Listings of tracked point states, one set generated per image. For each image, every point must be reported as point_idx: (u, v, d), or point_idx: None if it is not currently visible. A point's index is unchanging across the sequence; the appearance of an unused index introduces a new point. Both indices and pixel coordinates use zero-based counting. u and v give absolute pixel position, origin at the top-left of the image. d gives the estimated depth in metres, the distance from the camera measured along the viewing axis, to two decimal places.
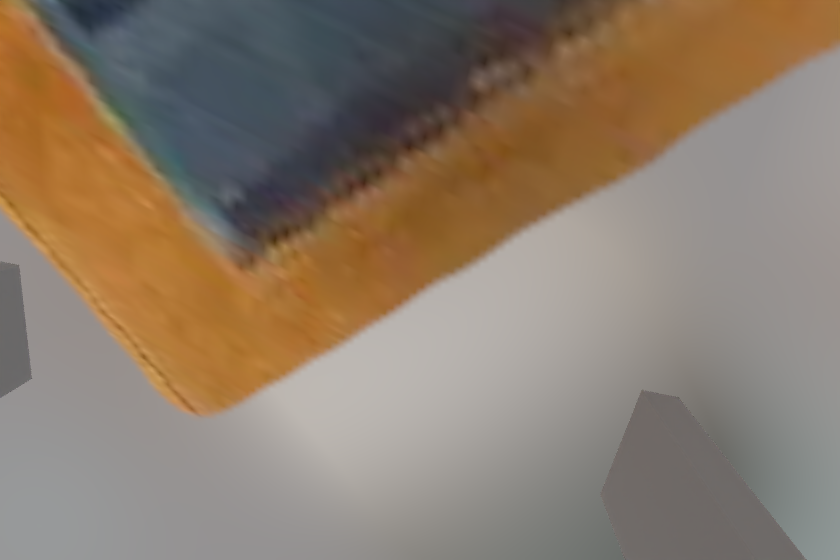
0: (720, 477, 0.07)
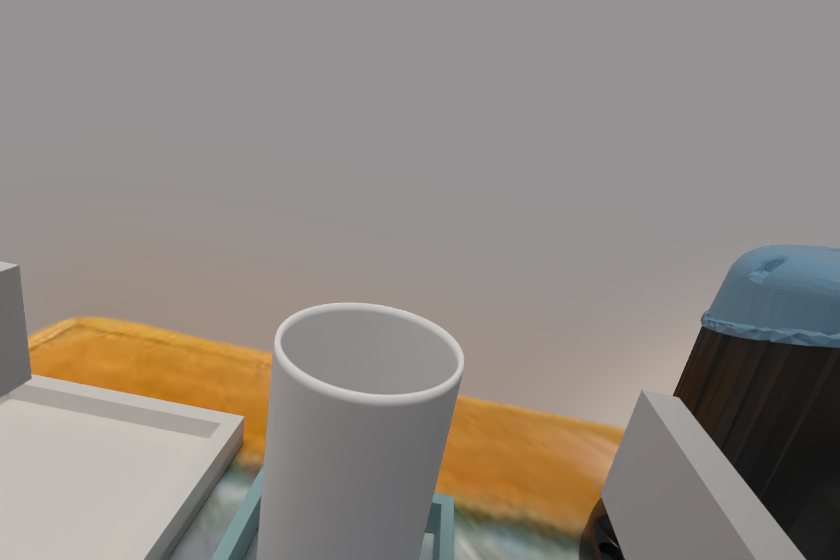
0: (720, 477, 0.07)
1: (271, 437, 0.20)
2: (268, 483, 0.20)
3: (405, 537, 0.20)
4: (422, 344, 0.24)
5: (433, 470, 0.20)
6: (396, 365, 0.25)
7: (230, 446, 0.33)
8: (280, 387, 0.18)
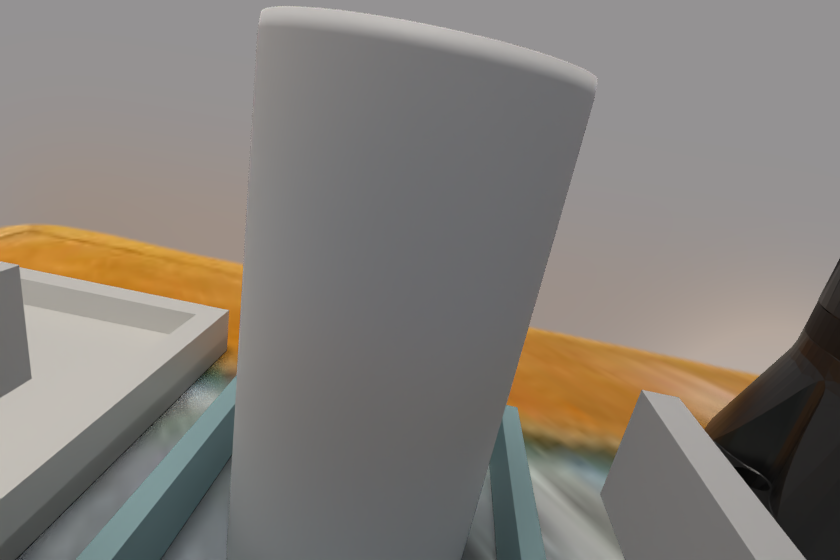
0: (720, 477, 0.07)
1: (253, 199, 0.11)
2: (248, 295, 0.12)
3: (487, 393, 0.12)
4: None
5: (539, 273, 0.11)
6: None
7: (208, 343, 0.24)
8: (269, 71, 0.10)
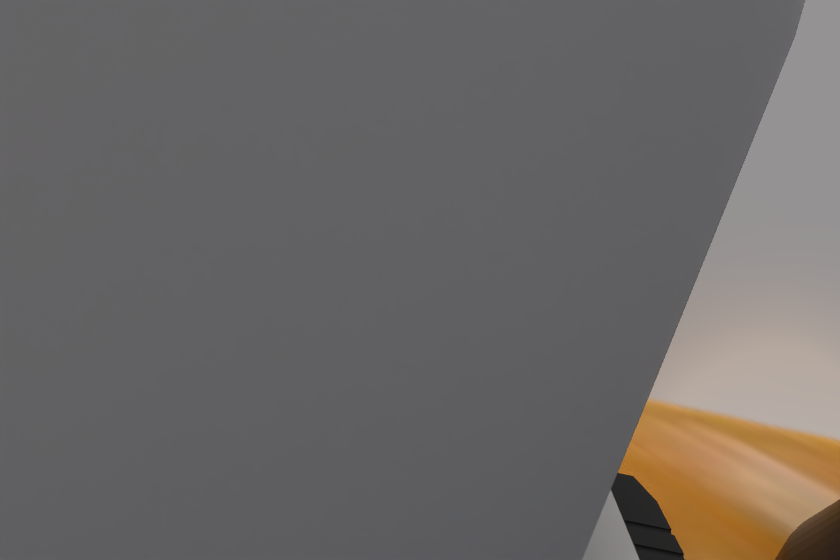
0: None
1: None
2: None
3: None
4: None
5: (590, 536, 0.04)
6: None
7: None
8: None
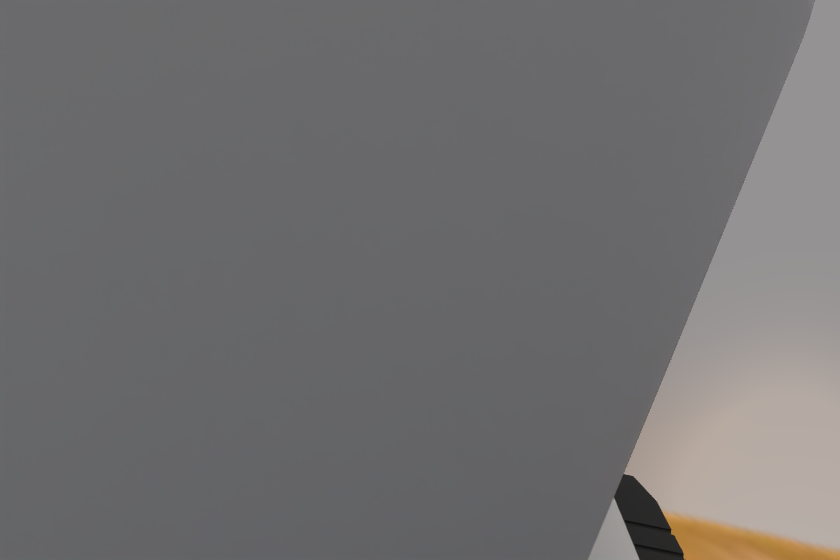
0: None
1: None
2: None
3: None
4: None
5: None
6: None
7: None
8: None
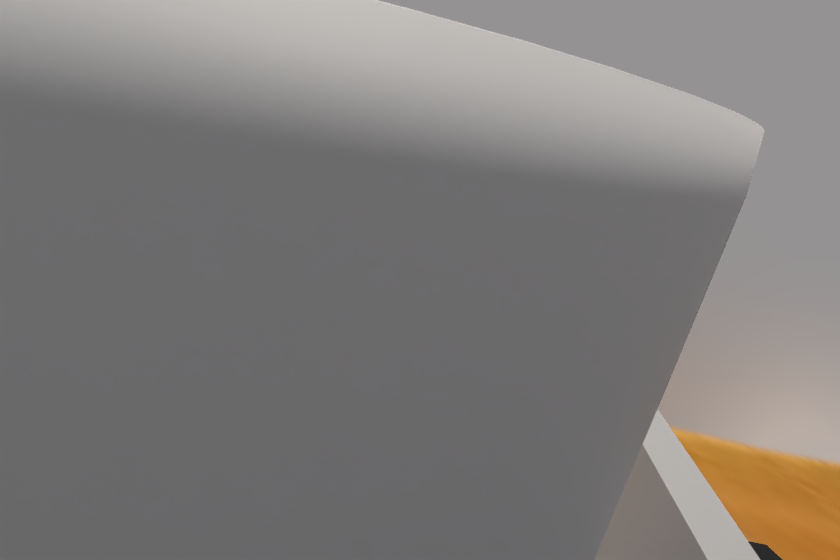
0: (662, 445, 0.08)
1: None
2: None
3: None
4: None
5: None
6: None
7: None
8: None
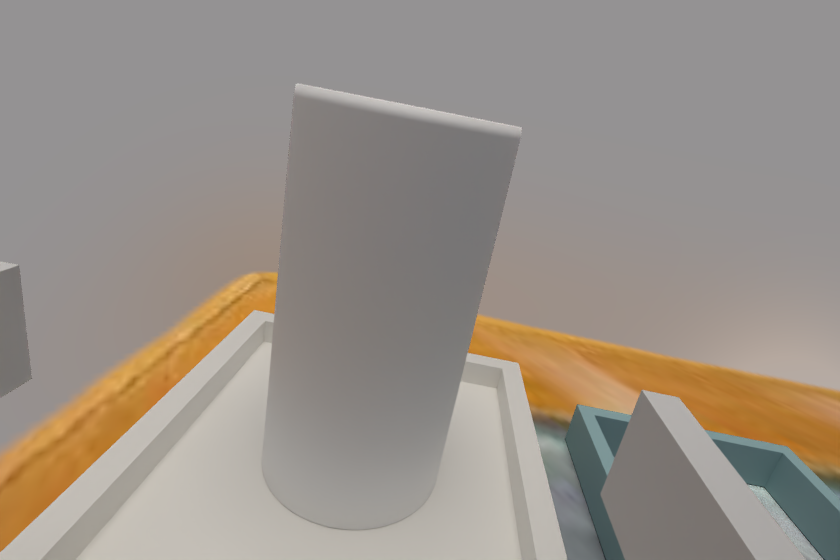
0: (720, 477, 0.07)
1: (290, 207, 0.16)
2: (285, 272, 0.17)
3: (449, 340, 0.17)
4: None
5: (484, 257, 0.17)
6: None
7: None
8: (304, 125, 0.15)
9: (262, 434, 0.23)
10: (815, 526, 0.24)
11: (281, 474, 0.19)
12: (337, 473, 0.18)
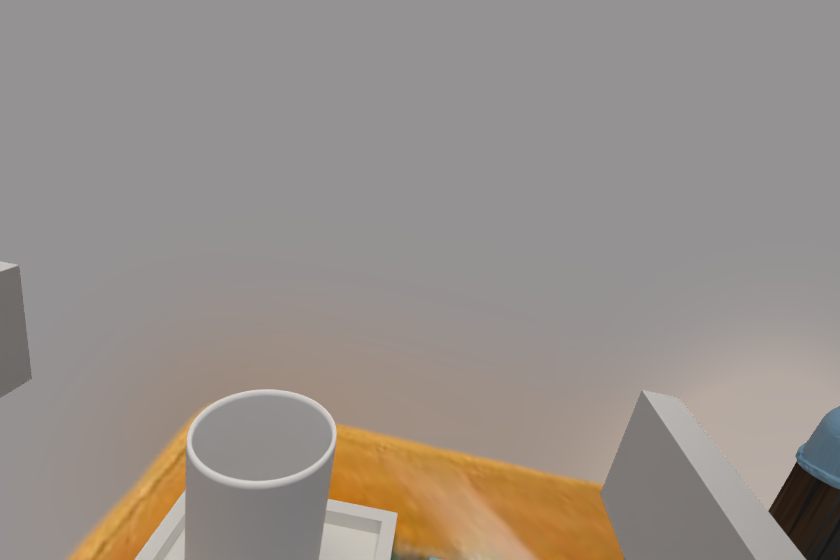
0: (720, 477, 0.07)
1: (186, 504, 0.26)
2: (186, 537, 0.27)
3: None
4: (316, 422, 0.31)
5: (309, 528, 0.27)
6: (299, 436, 0.32)
7: None
8: (189, 470, 0.25)
9: None
10: None
11: None
12: None
